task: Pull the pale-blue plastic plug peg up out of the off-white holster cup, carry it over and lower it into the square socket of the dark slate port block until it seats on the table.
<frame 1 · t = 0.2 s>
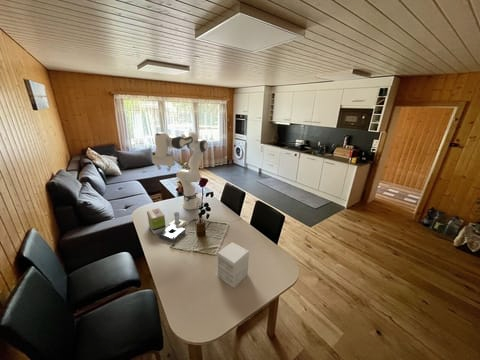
hand: (164, 170, 157), 47 cm above the table, fingers open, 8 cm apart
port block: (172, 235, 152), on the table
tea box: (157, 228, 161), on the table
supplement box: (232, 275, 116), on the table
plug peg: (177, 219, 164), in the holster
holster: (177, 225, 165), on the table
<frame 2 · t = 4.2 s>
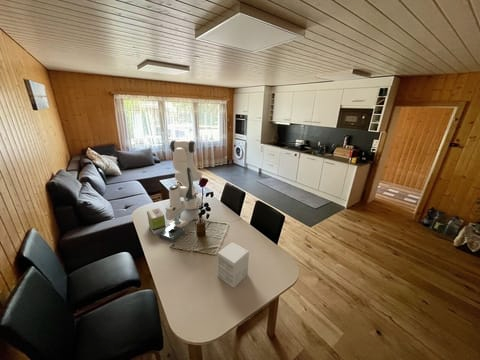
hand: (177, 219, 164), 6 cm above the table, fingers closed on plug peg, 4 cm apart
plug peg: (177, 219, 164), in the holster, touching gripper
everything else where it was.
when the fingers open (7 cm above the table, at t = 10.1 s): plug peg stays where it is, resting in port block.
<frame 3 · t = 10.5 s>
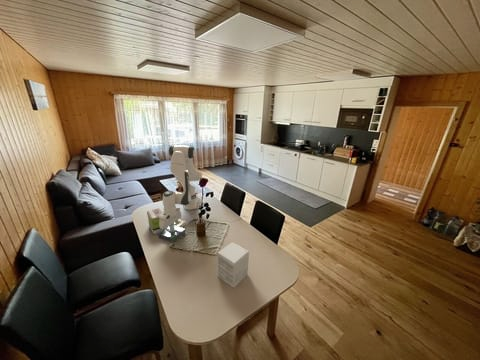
hand: (171, 228, 150), 7 cm above the table, fingers open, 7 cm apart
plug peg: (172, 229, 150), resting in port block
everything else where it was.
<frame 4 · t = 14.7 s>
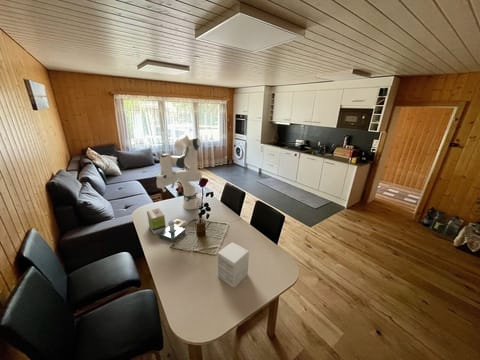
hand: (168, 189, 160), 31 cm above the table, fingers open, 8 cm apart
nothing on the table moved.
at the end: plug peg 0.1 cm off-centre on the port block, point 6.0 cm above the port block's base; plug peg tilted 0°; the gripper is holding nothing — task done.
